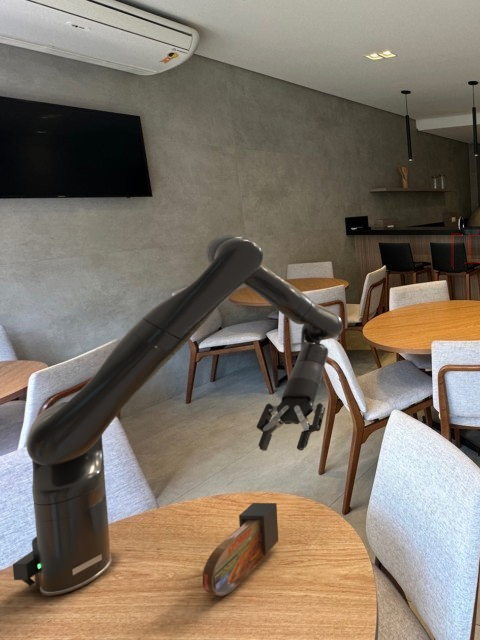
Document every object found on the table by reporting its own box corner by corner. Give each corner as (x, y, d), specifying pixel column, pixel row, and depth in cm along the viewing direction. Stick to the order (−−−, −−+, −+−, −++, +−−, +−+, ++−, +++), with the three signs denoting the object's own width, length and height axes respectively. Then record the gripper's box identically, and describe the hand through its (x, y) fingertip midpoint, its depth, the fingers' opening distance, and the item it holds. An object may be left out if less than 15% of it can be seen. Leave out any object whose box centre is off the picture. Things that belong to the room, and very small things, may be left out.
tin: (215, 608, 72) (212, 562, 71) (199, 605, 72) (197, 560, 72) (279, 543, 86) (277, 505, 86) (266, 541, 87) (264, 503, 86)
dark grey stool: (241, 554, 82) (238, 515, 82) (254, 540, 86) (252, 502, 86) (265, 555, 82) (263, 515, 81) (278, 540, 86) (276, 503, 85)
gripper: (269, 376, 103) (242, 444, 92) (327, 376, 103) (306, 444, 92) (282, 389, 108) (257, 454, 97) (336, 388, 108) (317, 454, 98)
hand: (281, 449), depth 95 cm, fingers open, 8 cm apart
